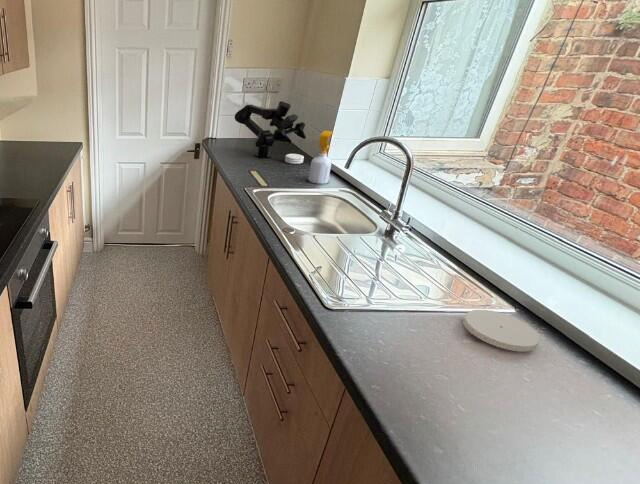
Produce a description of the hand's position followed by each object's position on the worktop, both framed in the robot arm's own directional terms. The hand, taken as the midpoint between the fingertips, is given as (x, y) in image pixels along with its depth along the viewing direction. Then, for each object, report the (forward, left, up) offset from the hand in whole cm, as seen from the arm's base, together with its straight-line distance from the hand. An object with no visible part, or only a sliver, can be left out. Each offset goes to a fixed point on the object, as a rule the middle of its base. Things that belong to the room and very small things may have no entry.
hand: (298, 140), depth 222 cm
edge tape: (+16, -27, -15) cm, 34 cm away
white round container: (-10, +4, -15) cm, 18 cm away
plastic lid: (+142, -16, -15) cm, 144 cm away
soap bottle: (+25, 0, -15) cm, 29 cm away
